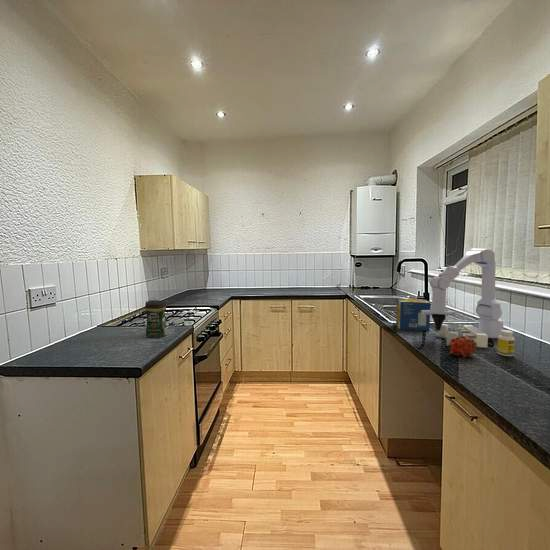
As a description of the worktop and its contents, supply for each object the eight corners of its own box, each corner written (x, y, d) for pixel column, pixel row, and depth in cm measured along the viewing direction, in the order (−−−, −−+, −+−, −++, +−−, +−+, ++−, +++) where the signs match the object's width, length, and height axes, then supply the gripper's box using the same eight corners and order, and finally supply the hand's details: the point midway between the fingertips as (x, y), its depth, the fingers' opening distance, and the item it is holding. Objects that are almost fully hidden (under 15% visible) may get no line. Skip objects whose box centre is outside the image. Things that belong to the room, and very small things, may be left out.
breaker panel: (471, 336, 152) (472, 325, 152) (487, 347, 135) (487, 334, 134) (455, 335, 154) (456, 324, 154) (468, 346, 137) (469, 333, 136)
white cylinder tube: (446, 335, 154) (446, 323, 153) (449, 338, 149) (449, 326, 149) (436, 335, 155) (437, 323, 154) (439, 337, 151) (439, 325, 150)
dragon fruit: (479, 360, 124) (449, 364, 125) (468, 343, 130) (439, 347, 131) (485, 348, 118) (453, 352, 119) (473, 330, 125) (443, 334, 126)
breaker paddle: (470, 335, 143) (468, 334, 144) (472, 336, 141) (470, 335, 141) (466, 341, 144) (464, 340, 144) (467, 343, 142) (465, 341, 142)
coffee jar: (143, 338, 153) (142, 301, 151) (150, 334, 161) (149, 299, 159) (162, 338, 152) (161, 301, 151) (169, 334, 160) (167, 299, 159)
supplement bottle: (509, 357, 123) (510, 333, 122) (494, 353, 127) (495, 330, 127) (516, 355, 125) (517, 331, 124) (501, 351, 130) (502, 328, 129)
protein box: (395, 325, 176) (396, 298, 174) (424, 326, 173) (425, 299, 171) (399, 329, 165) (399, 301, 164) (430, 331, 162) (431, 302, 161)
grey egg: (456, 344, 139) (456, 331, 139) (459, 347, 135) (459, 334, 135) (445, 344, 140) (445, 331, 140) (448, 346, 136) (448, 333, 136)
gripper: (424, 302, 143) (423, 331, 144) (458, 303, 140) (457, 333, 141) (420, 300, 150) (420, 327, 151) (453, 301, 146) (452, 329, 148)
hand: (437, 329), depth 146 cm, fingers closed
